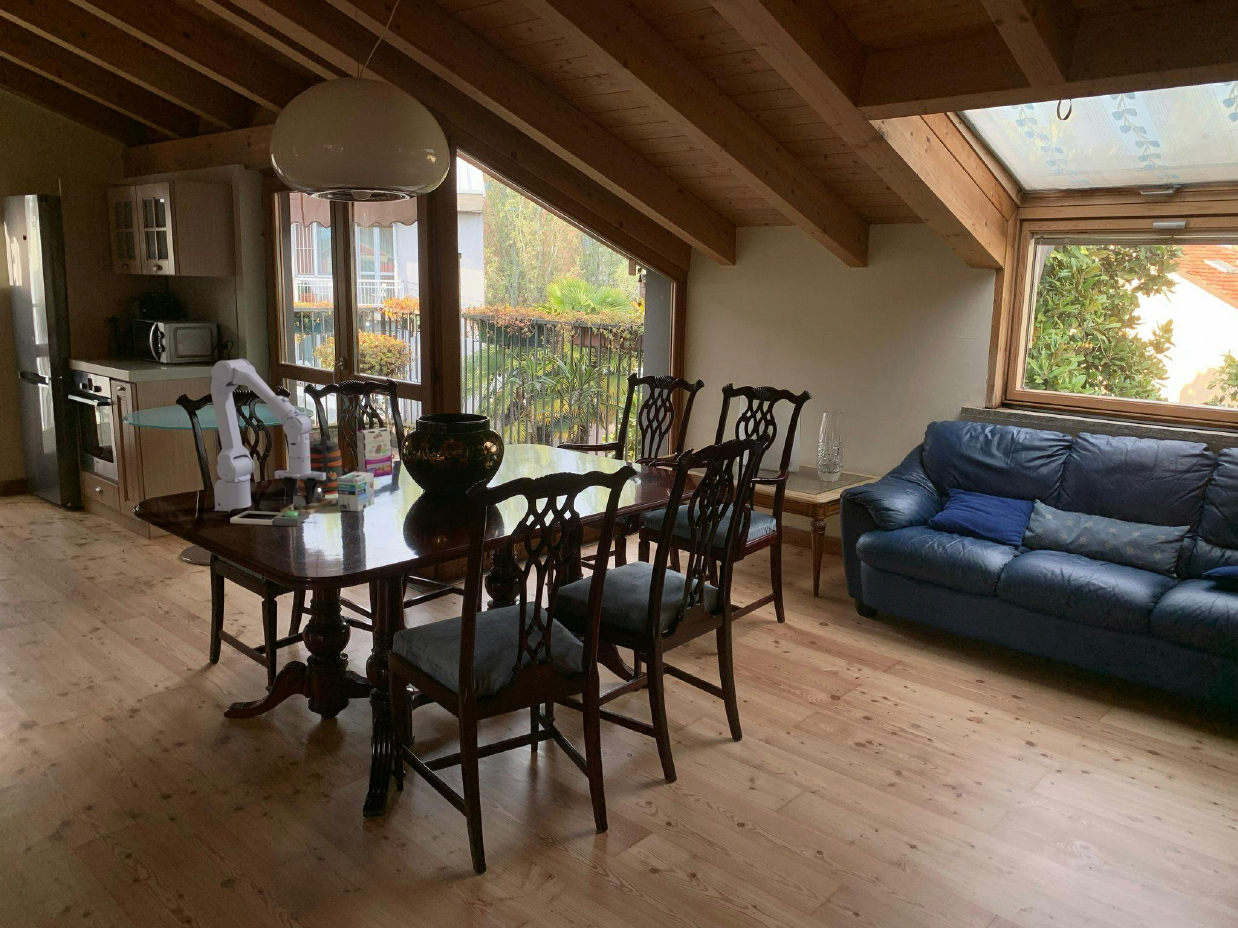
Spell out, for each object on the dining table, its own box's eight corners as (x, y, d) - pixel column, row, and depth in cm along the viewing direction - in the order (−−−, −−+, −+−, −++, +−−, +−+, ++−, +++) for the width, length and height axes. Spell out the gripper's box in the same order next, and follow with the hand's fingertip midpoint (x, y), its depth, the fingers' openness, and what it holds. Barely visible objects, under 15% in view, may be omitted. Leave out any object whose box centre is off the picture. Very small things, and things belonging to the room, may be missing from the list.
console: (273, 526, 256) (273, 517, 255) (285, 520, 262) (285, 511, 262) (297, 527, 255) (297, 519, 254) (309, 521, 262) (309, 513, 261)
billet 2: (306, 505, 276) (305, 488, 275) (312, 502, 280) (311, 485, 279) (319, 505, 276) (318, 489, 275) (325, 502, 279) (324, 486, 278)
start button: (282, 520, 257) (282, 513, 257) (288, 517, 260) (288, 510, 260) (294, 521, 256) (294, 514, 256) (300, 518, 260) (300, 511, 260)
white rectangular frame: (230, 524, 257) (230, 518, 257) (247, 516, 266) (247, 510, 266) (272, 526, 256) (271, 520, 255) (287, 518, 265) (287, 512, 264)
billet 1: (290, 512, 267) (289, 495, 266) (299, 509, 271) (298, 492, 270) (302, 513, 266) (301, 496, 265) (310, 510, 269) (310, 493, 269)
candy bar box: (384, 472, 332) (383, 427, 329) (393, 474, 329) (391, 428, 326) (357, 476, 324) (356, 430, 321) (365, 478, 321) (364, 431, 318)
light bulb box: (358, 515, 270) (357, 479, 268) (337, 513, 271) (336, 477, 269) (375, 507, 280) (374, 472, 278) (354, 505, 282) (353, 470, 280)
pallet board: (280, 517, 266) (280, 509, 265) (307, 504, 282) (307, 497, 282) (310, 518, 265) (310, 511, 264) (335, 505, 281) (335, 498, 281)
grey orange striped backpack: (355, 499, 290) (353, 435, 287) (307, 503, 283) (304, 439, 279) (339, 487, 306) (337, 427, 303) (293, 491, 299) (290, 430, 295)
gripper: (268, 458, 263) (271, 505, 265) (317, 460, 261) (319, 507, 264) (280, 454, 270) (282, 499, 272) (328, 456, 268) (330, 502, 271)
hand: (301, 503), depth 269 cm, fingers closed on billet 1, 4 cm apart
